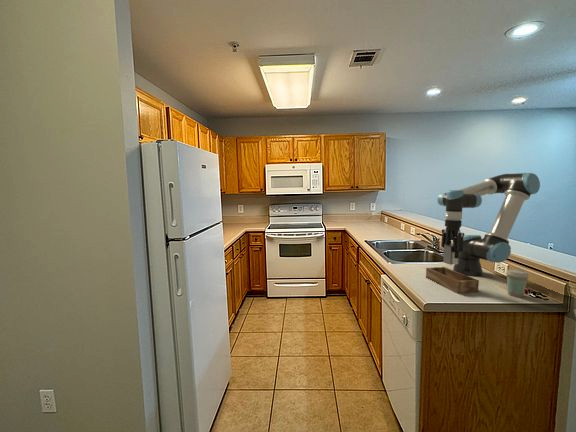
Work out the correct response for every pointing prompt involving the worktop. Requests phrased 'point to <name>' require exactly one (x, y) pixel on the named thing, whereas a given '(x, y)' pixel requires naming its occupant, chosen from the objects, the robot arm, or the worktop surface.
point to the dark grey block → (448, 253)
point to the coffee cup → (516, 282)
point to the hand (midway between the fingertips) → (450, 262)
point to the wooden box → (452, 280)
